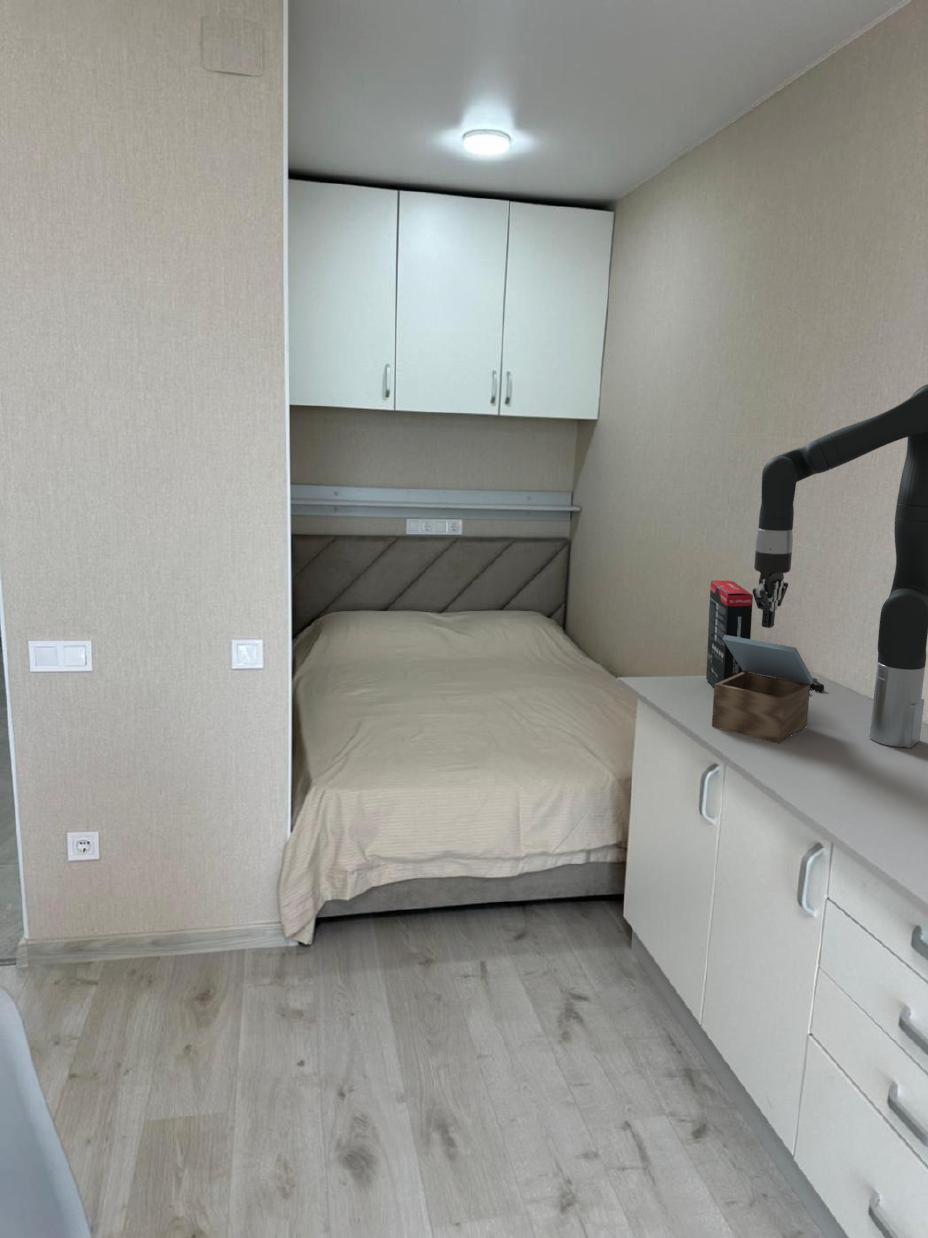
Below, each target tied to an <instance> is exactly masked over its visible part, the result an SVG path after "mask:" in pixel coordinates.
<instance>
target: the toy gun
mask: <svg viewBox="0 0 928 1238" xmlns="http://www.w3.org/2000/svg"><path fill="white" fill-rule="evenodd" d="M812 678H813V682H812V684H811V685H810V688H812V689H813V690H815V691H823V692H824V690H825V685H824V684H822V683H821V682H820V681H818V679H817V678H814V677H812ZM778 679H780V678H778ZM783 680H784V679H783ZM788 681H789V680H788ZM793 682H794V681H793ZM798 683H799V682H798ZM803 684H804V683H803ZM807 685H809V684H807ZM812 689H811V690H812ZM813 690H812V691H813ZM815 691H814V692H815Z"/></svg>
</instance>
